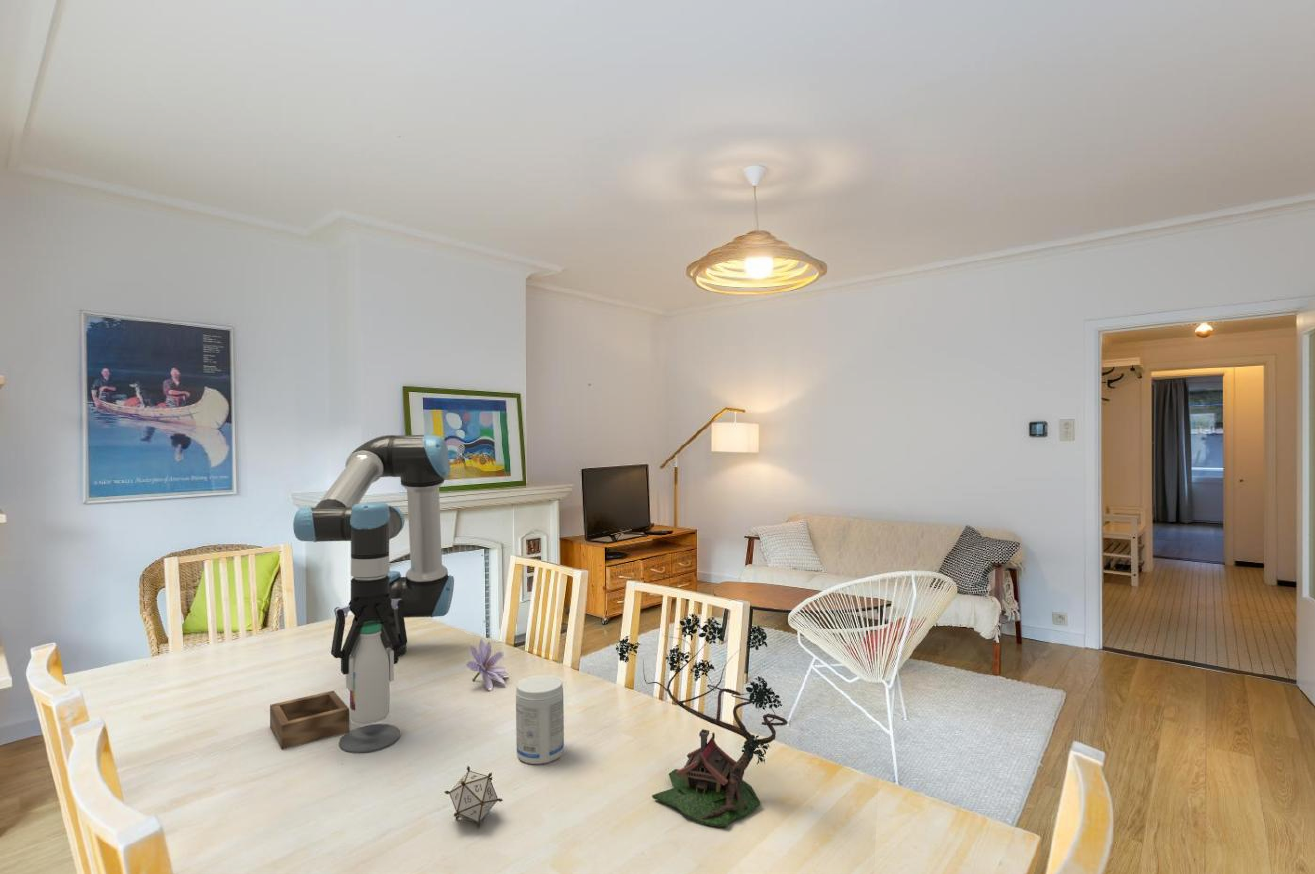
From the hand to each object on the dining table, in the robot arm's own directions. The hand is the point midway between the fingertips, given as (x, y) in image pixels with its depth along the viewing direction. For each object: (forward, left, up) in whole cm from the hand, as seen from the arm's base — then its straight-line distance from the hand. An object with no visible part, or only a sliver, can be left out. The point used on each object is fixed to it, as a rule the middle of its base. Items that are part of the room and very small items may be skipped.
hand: (370, 683), depth 143 cm
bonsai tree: (-42, +56, -12) cm, 71 cm away
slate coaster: (0, 0, -12) cm, 12 cm away
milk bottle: (0, 0, -7) cm, 7 cm away
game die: (-5, +41, -12) cm, 43 cm away
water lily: (-33, -13, -12) cm, 38 cm away
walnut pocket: (+9, -13, -12) cm, 20 cm away
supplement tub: (-25, +28, -12) cm, 39 cm away
